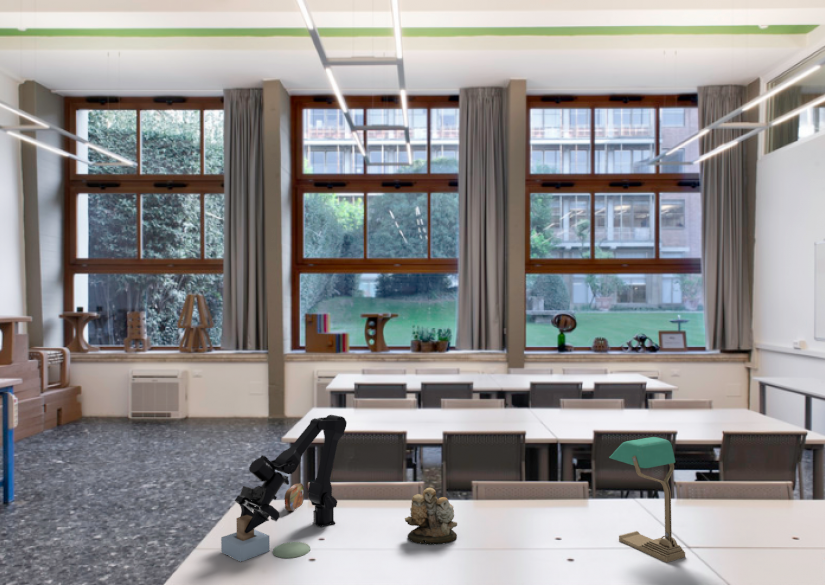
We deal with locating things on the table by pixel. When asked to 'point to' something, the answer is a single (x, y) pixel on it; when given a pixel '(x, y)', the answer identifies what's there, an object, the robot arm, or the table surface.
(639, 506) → the table surface
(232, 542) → the slate-blue holder
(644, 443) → the banker's lamp
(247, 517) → the walnut peg
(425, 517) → the owl figurine
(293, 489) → the tin
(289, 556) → the sage-green mat
